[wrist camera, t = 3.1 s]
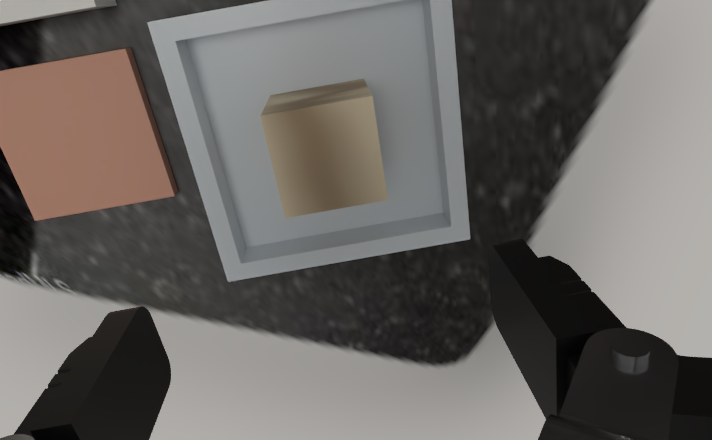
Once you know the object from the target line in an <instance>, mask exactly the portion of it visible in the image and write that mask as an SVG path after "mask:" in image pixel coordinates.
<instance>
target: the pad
mask: <svg viewBox="0 0 712 440" xmlns="http://www.w3.org/2000/svg"><path fill="white" fill-rule="evenodd" d="M0 147H1V149H2V151H3V153H4V155H5V157H6V160H7V162H8V164H9V166H10V168H11V170H12V172H13V175H14V177H15V179H16V181H17V183H18V185H19V187H20V190H21V192H22V194H23V196H24V198H25V200H26V202H27V205H28V207H29V209H30V211H31V213H32V215H33V217H34V220H35V221H37V220H43V219H48V218H54V217H60V216H65V215H71V214H77V213H82V212H88V211H93V210H99V209H105V208H110V207H116V206H122V205H127V204H133V203H139V202H144V201H150V200H155V199H161V198H167V197H172V196H175V195H176V194H177V192H178V189H177V186H176V183H175V180H174V177H173V174H172V170H171V167H170V164H169V161H168V158H167V155H166V152H165V149H164V146H163V143H162V140H161V137H160V134H159V131H158V128H157V125H156V122H155V119H154V116H153V113H152V110H151V107H150V104H149V101H148V98H147V95H146V92H145V89H144V86H143V83H142V80H141V76H140V73H139V70H138V67H137V64H136V61H135V58H134V55H133V52H132V49H131V47H129V48H123V49H118V50H112V51H107V52H101V53H96V54H90V55H84V56H79V57H73V58H68V59H62V60H57V61H51V62H45V63H40V64H34V65H29V66H23V67H18V68H12V69H6V70H1V71H0Z"/></svg>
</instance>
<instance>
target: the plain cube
mask: <svg viewBox="0 0 712 440" xmlns="http://www.w3.org/2000/svg"><path fill="white" fill-rule="evenodd" d="M261 121H262V125H263V129H264V133H265V137H266V141H267V145H268V149H269V154H270V158H271V162H272V166H273V170H274V174H275V178H276V182H277V186H278V191H279V195H280V199H281V203H282V207H283V211H284V215H285V218H289V217H295V216H301V215H306V214H312V213H318V212H323V211H329V210H335V209H340V208H346V207H352V206H357V205H363V204H369V203H374V202H380V201H386V200H388V197H387V190H386V183H385V177H384V170H383V163H382V157H381V150H380V143H379V136H378V130H377V123H376V116H375V109H374V103H373V96H372V94H371V92H370V90H369V88H368V86H367V84H366V82H365V80H364V79H358V80H353V81H347V82H342V83H336V84H330V85H325V86H319V87H314V88H308V89H302V90H297V91H291V92H286V93H280V94H274V95H270V97H269V99H268V101H267V103H266V105H265V107H264V109H263V111H262V114H261Z"/></svg>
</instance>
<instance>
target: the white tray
mask: <svg viewBox="0 0 712 440" xmlns="http://www.w3.org/2000/svg"><path fill="white" fill-rule="evenodd" d="M116 5H117V4H116V1H115V0H0V26H5V25H11V24H16V23H22V22H27V21H33V20H39V19H44V18H50V17H55V16H61V15H66V14H72V13H77V12H83V11H89V10H94V9H100V8H105V7H111V6H116Z"/></svg>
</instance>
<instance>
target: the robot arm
mask: <svg viewBox="0 0 712 440" xmlns="http://www.w3.org/2000/svg"><path fill="white" fill-rule="evenodd" d="M488 265H489V279H490V294H491V305H492V311H493V315H494V319H495V322H496V325H497V327H498V329H499V331H500V333H501V335H502V337H503V339H504V341H505V342H506V344H507V346H508V348H509V350H510V352H511V354H512V355H513V358H514V359H515V361H516V363H517V365H518V367H519V369H520V371H521V373H522V374H523V376H524V378H525V380H526V382H527V384H528V386H529V388H530V389H531V391H532V393H533V395H534V397H535V399H536V401H537V403H538V405H539V407H540V408H541V410H542V412H543V414H544V416H545V418H546V421H545V424H544V426H543V428H542V431H541V433H540V436H539V438H538V440H712V358H701V357H687V356H679V355H677V354H676V353H675V351H674V350H673V348H672V347H671V346H670V345H669V344H667V343H666V342H665V341H663V340H662V339H660V338H658V337H656V336H654V335H652V334H649V333H647V332H644V331H640V330H636V329H629V328H626V327H625V326H624V325H623V324H622V323H621V321H620V320H619V319H618V318H617V317H616V316H615V315H614V314H613V313H612V312H611V311H610V309H609V308H608V307H607V306H606V305H605V304H604V303H603V302H602V301H601V300H600V299H599V297H598V296H597V295H596V294H595V293H594V292H591V289H590V288H589V287H588V285H587V284H586V283H585V282H584V281H581V278H580V277H579V276H578V275H577V273H576V272H575V271H574V270H573V269H572V268H571V267H570V266H569V265H567V264H565V263H563V262H561V261H559V260H557V259H555V258H553V257H551V256H546V257H540V258H538V257H537V256H536V255H535V254H534V252H533V251H532V250H531V249H530V247H529V246H528V245H527V244H526V243H525V241H524V240H522V239H519V240H513V241H508V242H502V243H497V244H491V245H489V247H488ZM170 380H171V368H170V363H169V359H168V356H167V354H166V351H165V349H164V347H163V344H162V342H161V339H160V336H159V334H158V332H157V329H156V327H155V324H154V322H153V319H152V317H151V314H150V312H149V311H148V310H147V309H146V308H145V307H137V308H131V309H125V310H120V311H114V312H110V313H108V315H107V316H106V317H105V318H104V320H103V322H102V323H101V324H100V326H99V328H98V329H97V331H96V332H95V334H94V335H93V337H90V338H88V339H87V340H85V341H84V342H83V343H82V344H81V345H79V346H78V347H77V348H76V349H75V350H74V351H73V352H71V353H70V354H69V355H68V357H67V358H66V360H65V361H64V363H63V364H62V366H61V367H60V369H59V370H58V374H55V376H54V377H53V379H52V380H51V382H50V383H49V384H48V388H47V389H45V390H44V391H43V393H42V395H41V396H40V397H39V399H38V400H37V402H36V403H35V405H34V406H33V407H32V409H31V410H30V412H29V413H28V414H27V416H26V417H25V419H24V420H23V422H22V423H21V425H20V426H19V427H18V429H17V430H16V432H15V433H14V435H10V436H6V437H3V438H0V440H149V438H150V435H151V433H152V430H153V427H154V425H155V422H156V419H157V417H158V414H159V412H160V409H161V406H162V404H163V401H164V399H165V396H166V393H167V391H168V388H169V385H170Z"/></svg>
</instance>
